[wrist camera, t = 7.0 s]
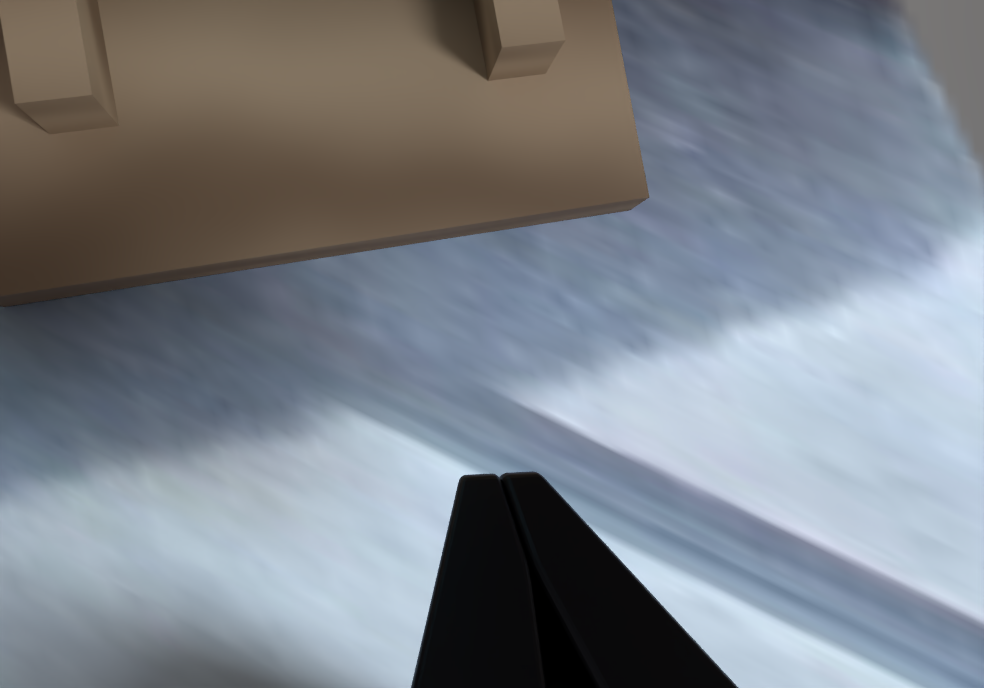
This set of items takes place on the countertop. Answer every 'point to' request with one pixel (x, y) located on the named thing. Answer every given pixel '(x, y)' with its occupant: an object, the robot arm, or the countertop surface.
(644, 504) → the countertop surface
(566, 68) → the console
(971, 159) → the countertop surface
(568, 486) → the countertop surface
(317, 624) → the countertop surface
